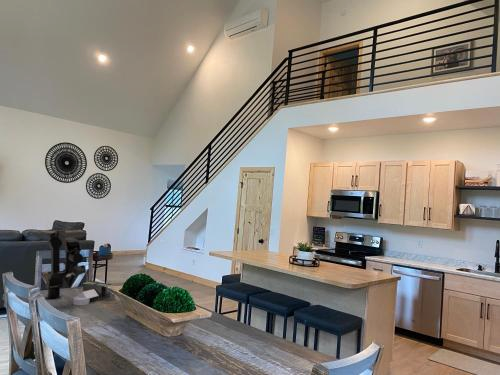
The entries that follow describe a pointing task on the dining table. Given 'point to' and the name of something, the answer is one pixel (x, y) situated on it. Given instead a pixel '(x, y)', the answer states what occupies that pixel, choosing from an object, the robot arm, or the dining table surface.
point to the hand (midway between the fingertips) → (69, 287)
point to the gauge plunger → (96, 288)
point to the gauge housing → (105, 293)
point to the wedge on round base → (84, 297)
